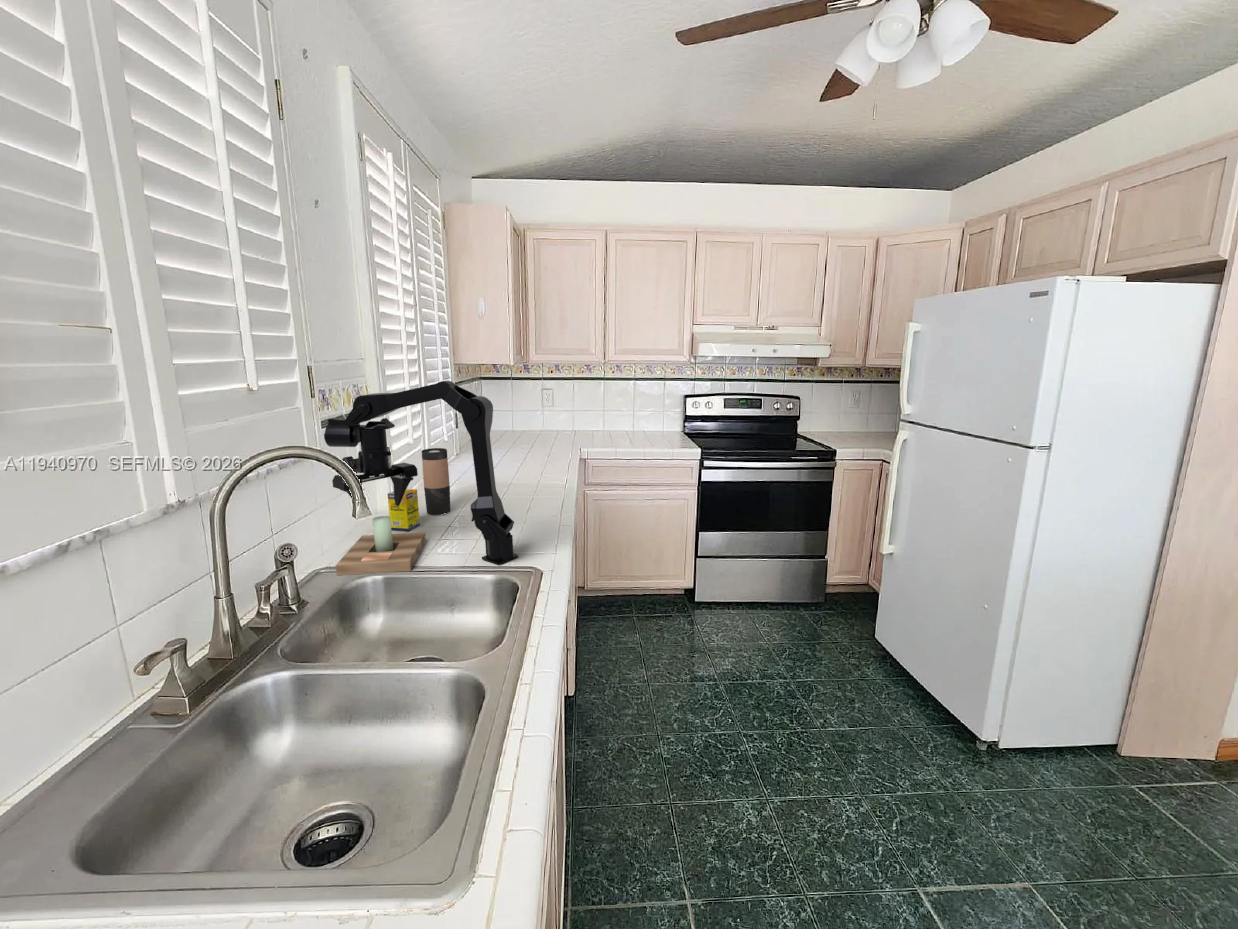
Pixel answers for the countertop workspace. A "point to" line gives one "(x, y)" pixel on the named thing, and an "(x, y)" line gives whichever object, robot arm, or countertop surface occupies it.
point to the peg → (382, 534)
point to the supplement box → (404, 511)
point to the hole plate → (382, 555)
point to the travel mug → (436, 480)
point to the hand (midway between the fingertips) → (380, 510)
